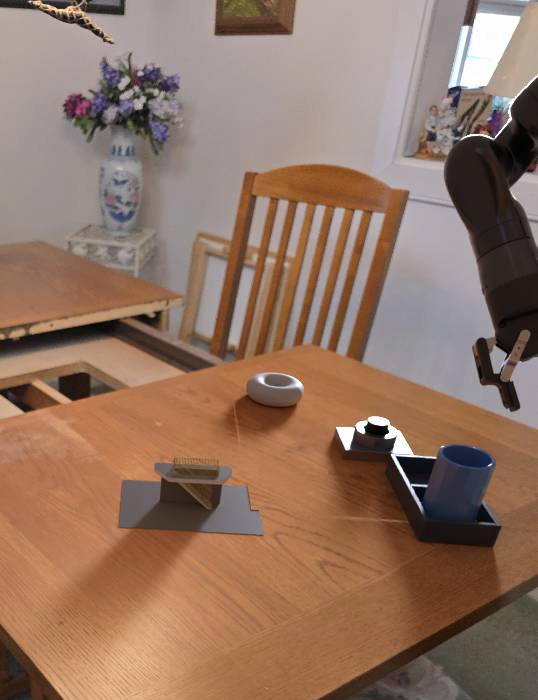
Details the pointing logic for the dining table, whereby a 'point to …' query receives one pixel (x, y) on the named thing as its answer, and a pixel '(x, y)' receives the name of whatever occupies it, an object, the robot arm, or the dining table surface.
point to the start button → (377, 426)
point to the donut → (275, 389)
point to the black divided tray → (410, 488)
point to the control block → (369, 444)
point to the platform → (189, 500)
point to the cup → (458, 483)
